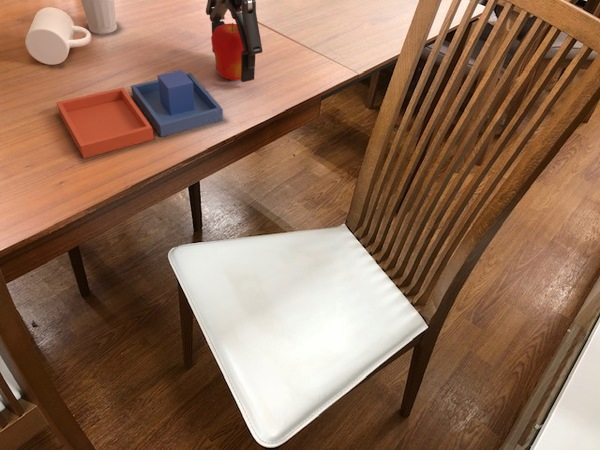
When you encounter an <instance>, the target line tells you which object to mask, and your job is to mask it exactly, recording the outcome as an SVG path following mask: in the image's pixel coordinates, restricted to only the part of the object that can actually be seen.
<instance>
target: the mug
mask: <svg viewBox="0 0 600 450" xmlns="http://www.w3.org/2000/svg"><path fill="white" fill-rule="evenodd" d="M75 34H83V35H85V37H83V38H78V39H77V38H76V39H74V36H75ZM24 42H25V48H26V50H27V52H28V53H29V55H30V56H31V57H32V58H33V59H34V60H36V61H38V62H39V63H42V64H44V65H48V66H52V65H53V66H55V65H60V64H62V63H63V62H65V61H66V60H67V58H68V55H69V52H70V50H71V48H81V47H85V46H87V45H89V44H90V43H91V42H92V34H91V31H90V30H89V29H87V28H85V27H83V26H79V25H75V23H74V21H73V19H72V17H70V15H69V14H68V13H66V12H65V11H64V10H62V9H60V8H57V7H52V6H49V7H44V8H43V7H42V8H41V9H39V10H38V11H37V12H36V14H35V16H34V18H33V21H32V22H31V25H30V28H29V29H28V32H27V34H26V36H25V41H24Z"/></svg>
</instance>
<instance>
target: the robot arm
mask: <svg viewBox="0 0 600 450" xmlns="http://www.w3.org/2000/svg"><path fill="white" fill-rule="evenodd" d="M228 11H229V12H230V15H231V18H232V19H233V20H235V24H236V25H237V28H238V31H239V35H240V38H241V42H242V45H243V49H244V51H242V52H241V54H242V56H241V78H240V81H241V82H242V83H246V82H250V81H254V80H255V74H256V73H255V71H256V69H255V68H256V55H259V54H262V53H263V44H262V39H261V34H260V28H259V22H258V16H257V3H256V0H207V3H206V7H205V14H206V16H209V20H210V22H211V35H212V34H213V32H214V30H215V28H217V27H218V26H220V25H223V24H226V23H225V21H224V20H225V19H226V18H225V15H226V13H227V12H228ZM211 51H212V53H213V54H214V51H213V47H212V46H211Z"/></svg>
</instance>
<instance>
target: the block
mask: <svg viewBox="0 0 600 450" xmlns="http://www.w3.org/2000/svg"><path fill="white" fill-rule="evenodd" d="M185 73H186V72H185V71H184V70H183V69H179V70H175V71H170V72H165V73H161V74H157V76H156V77H157V80H158V84H159V93H160V101H161V103H162V105H163V106H164V107H165V109H166V110H167V111H168V113H169V114H170V115H175V114H179V113H183V112H187V111H191V110H194V109H195V107H194V91H193V82H192V81H191V80H190V78H189V77H188V76H187V75H186V74H185Z"/></svg>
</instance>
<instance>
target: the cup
mask: <svg viewBox="0 0 600 450" xmlns="http://www.w3.org/2000/svg"><path fill="white" fill-rule="evenodd" d="M80 2H81V5H82V9H83V12H84V16H85V19H86V23H87V27H88V31H89V32H92V33H94V34H100V35H102V34H103V35H104V34H105V35H106V34H110V33H113V32H115V31H116V30H117V28H118V25H117V17H116V6H115V0H80Z"/></svg>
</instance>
